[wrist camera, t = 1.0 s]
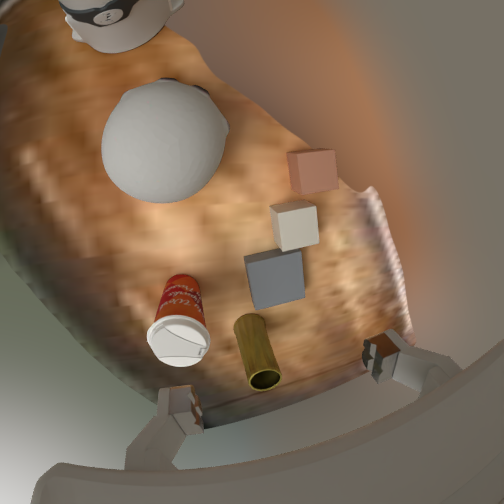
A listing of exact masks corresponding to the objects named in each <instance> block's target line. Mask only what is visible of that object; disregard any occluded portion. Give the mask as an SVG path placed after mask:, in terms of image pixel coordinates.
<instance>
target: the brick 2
mask: <svg viewBox="0 0 504 504" xmlns="http://www.w3.org/2000/svg"><path fill="white" fill-rule="evenodd" d="M269 208H270V214H271V221H272V228H273V235H274V241H275V242H276V244H277V245H278V246H279V248H280V249H281V250H282V252H284V251H288V250H293V249H297V248H301V247H305V246H310V245H314V244H318V243H319V233H318V221H317V210H316V206H315V205H314V204H312V203H310V202H308V201H306V200H305V199H304V200H299V201H293V202H288V203H283V204H278V205H273V206H269Z"/></svg>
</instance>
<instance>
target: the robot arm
mask: <svg viewBox="0 0 504 504" xmlns="http://www.w3.org/2000/svg"><path fill="white" fill-rule="evenodd" d="M59 4H60V6H61V7H62V9H63V11H64V12H65V13H66V14H67V16H66V17H65V20H66V22H67V23H68V24H69V25H70V26H71V28H72V29H73V32H72V38H73V39H74V40H75V41H78V42H86V43H88V44H89V45H90V46H91V47H93V48H94V49H96V50H98V51H100V52H104V53H120V52H124V51H128V50H131V49H134V48H136V47H138V46H140V45H142V44H144V43H145V42H147V41H148V40H150V39H151V38H152V37H154V36H155V35H156V34H157V33H158V32H159V31H160V30H161V28H162V27H163V26H164V24H165V23H166V21H167V20H168V18H169V17H170V16H171V15H172V14H174V13H175V12H176V11H178V10H179V9H180V8H181V7H182V6H183V5H184V0H59ZM363 346H364V347H365V349H364V351H363V352H362V359H363V363H364V365H365V367H366V368H367V369H368V370H370V371H372V374H371V375H372V377H373V378H374V380H375V381H376V382H377V384H379V383H381V382H383V381H385V380H388V379H390V378H392V379H394V380H396V381H398V382H400V383H402V384H404V385H406V386H409V387H410V388H413V389H415V390H417V391H419V392H420V395H419V397H418V399H417V400H416V401H414V402H412V403H410V404H408V405H406V406H405V407H403V408H401V409H399V410H397V411H395V412H393V413H391V414H389V415H387V416H385V417H383V418H381V419H379V420H376V421H374V422H372V423H370V424H368V425H365V426H363V427H360V428H358V429H356V430H353V431H351V432H348V433H346V434H343V435H340V436H338V437H335V438H332V439H329V440H326V441H324V442H321V443H318V444H315V445H311V446H308V447H305V448H302V449H298V450H295V451H291V452H287V453H284V454H280V455H276V456H271V457H267V458H262V459H258V460H253V461H248V462H243V463H237V464H231V465H224V466H216V467H208V468H198V469H185V470H178V469H177V468H176V467H175V466H174V465H173V464H172V463H171V462H172V460H173V459H174V457H175V455H176V453H177V452H178V450H179V448H180V447H181V445H182V443H183V441H184V440H185V438H186V435H193V434H200V433H204V429H203V421H202V419H201V415H202V407H201V402H200V400H199V397H198V396H197V395H195V389H194V387H193V385H186V386H178V387H170V388H161V389H160V390H159V396H158V407H157V416H154V417H153V418H152V419H151V420H150V421H149V423H148V424H147V425H146V427H145V428H144V429H143V430H142V431H141V432H140V433H139V435H138V436H137V437H136V438H135V439H134V440H133V442H132V443H131V444H130V445H129V446H128V448H127V451H126V459H125V469H124V470H117V469H104V468H95V467H87V466H80V465H74V464H68V463H57V464H56V465H54V466H53V467H52V468H50V469H49V470H48V471H47V472H46V473H44V474H43V475H42V476H41V477H40V478H39V480H38V481H37V483H36V486H35V488H34V492H33V495H32V500H31V504H504V339H502V340H501V341H500V342H498V343H497V344H496V345H495V346H494V347H493V348H491V349H490V350H489V351H488V352H487V353H485V354H484V355H483V356H481V357H480V358H479V359H478V360H477V361H475V362H474V363H472V364H471V365H470V366H468V367H467V368H466V369H464V370H462V369H461V368H460V367H459V366H458V365H457V364H456V363H455V362H454V361H453V360H452V359H451V358H450V357H449V356H445V355H441V354H438V353H434V352H431V351H428V350H424V349H421V348H417V347H414V346H411V347H409V346H408V345H407V344H406V342H405V341H404V340H403V339H402V338H401V337H400V336H399V335H398V334H397V333H396V332H395V331H394V330H393V329H389V330H387V331H384V332H382V333H379V334H377V335H374V336H372V337H369V338H367V339H365V340H364V344H363Z"/></svg>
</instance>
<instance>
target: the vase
mask: <svg viewBox="0 0 504 504" xmlns="http://www.w3.org/2000/svg"><path fill="white" fill-rule="evenodd" d="M234 333H235V335H236V338H237V342H238V345H239V349H240V353H241V357H242V360H243V363H244V367H245V371H246V375H247V379H248V384H249V386H250V387H251V388H252V389H254V390H257V391H266V390H270V389H272V388H274V387H276V386H277V385H278V384H279V383H280V382H281V380H282V374H281V371H280V369H279V366H278V363H277V361H276V358H275V356H274V353H273V350H272V347H271V344H270V341H269V338H268V335H267V331H266V326H265V321H264V319H263V318H262V317H260V316H258V315H256V314H247V315H244V316H242V317H240V318H239V319H238V320H237V321H236V322H235V324H234Z"/></svg>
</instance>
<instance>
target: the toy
mask: <svg viewBox="0 0 504 504" xmlns="http://www.w3.org/2000/svg"><path fill="white" fill-rule="evenodd" d="M229 130H230V125H229V123H228V121H227V120H226V119H225V117H224V116H223V115H222V114H221V112H220V111H219V109H218V108H217V106H216V105H215V104H214V102H213V101H212V100H211V99H210V95H209V92H208V91H207V90H205V89H203V88H202V87H200V86H197V85H193V86H189V85H186V84H182V83H179V82H178V81H177V80H176V79H174V78H160V79H159V80H157V81H155V82H153V83H149V84H146V85H143V86H140V87H137V88H134V89H131V90H128V91H126V92H125V93H124V94H123V96H122V97H121V100H120V102H119V103H118V104H117V106H116V107H115V108H114V110H113V111H112V113H111V115H110V117H109V119H108V121H107V123H106V126H105V129H104V132H103V137H102V159H103V163H104V167H105V170H106V172H107V174H108V175H109V177H110V179H111V180H112V181H113V182H114V183H115V184H116V186H117V187H119V188H120V189H121V190H122V191H124V192H125V193H127V194H128V195H130V196H132V197H134V198H136V199H139V200H143V201H146V202H152V203H172V202H177V201H181V200H184V199H186V198H189V197H190V196H192V195H194V194H195V193H197V192H198V191H199V190H201V189H202V188H203V187H204V186H205V185H206V184H207V183H208V182H209V180H210V179H211V178H212V176H213V175H214V173H215V171H216V169H217V168H218V166H219V163H220V161H221V158H222V155H223V152H224V148H225V141H226V136H227V134H228V133H229Z"/></svg>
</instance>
